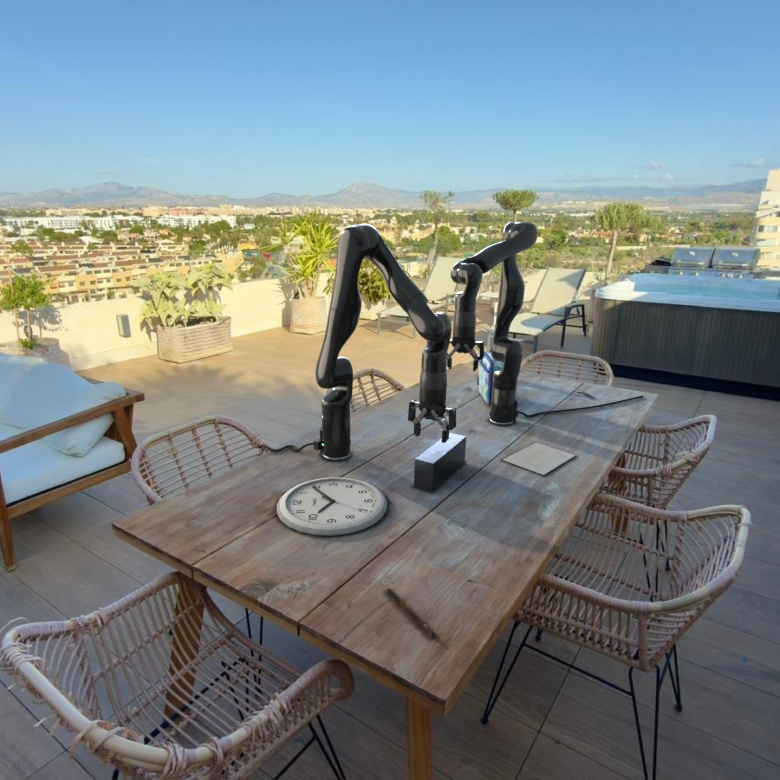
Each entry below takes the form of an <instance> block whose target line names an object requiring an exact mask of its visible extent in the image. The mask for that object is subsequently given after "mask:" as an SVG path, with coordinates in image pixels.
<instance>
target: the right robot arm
mask: <svg viewBox="0 0 780 780" xmlns="http://www.w3.org/2000/svg"><path fill="white" fill-rule="evenodd" d="M538 234H539V233H538V228H537V226H536V225H535V224H534V223H532V222H527V221H526V222H525V221H510V222H508V223H507V224H505V226H504V229H503V232H502V238H501V241H500V242H497V243H494V244H491V245H488V246H487V247H485V248H483V249H482V250H480V251H479V252H478V253H476V254H475V255H472V256H468V257H466V258H464V259H462V260H459V261H457V262H456V263H455V264H454V265H453V267H452V268H451V270H450V279H451V281H452V282H453V283H454V284H457V285H464V286H465V288H464V290H463V291H459V292H457V293H456V294H455V295H454V297H455V298H454V309H453V310H454V312H453V317H452V318H453V319H452V320H453V321H452V337H451V339H450V343H449V345H450V344H451V346H452V348H453V349H451V351H450V352H449V353H448V352H447V367H446V368H448V370H451V369H452V368H453V355H455V353H458V354H466V355H467V354H469V356H470V357H472V359H473V364H472V372H476V371H478V369H479V360H482V359H483V358H484V352H485V341H484V340H481V341H476V326H477V325H476V324H477V316H476V314H477V313H476V309H477V303H476V302H477V297H478V294H479V291H480V287H481V284H482V281H483V275H484V274H486V273H488V272H490V271H491V270H492V269H494V268H495V267H496V266H498V265H500V264H501V271H500V281H499V288H498V297H497V311H496V317H495V323H494V324H495V325H494V330H493V335H492V339H491V345H490V346H491V356H492V358H493V359H494V360H497V361H500V362H503V363H504V367H503V370H497V371H495V372H494V374H493V385H492V398H491V404H490V410H489V415H488V416H489V422H490V423H491V424H494V425H497V426H511V425H513V424H516V423H517V418H518V417H519V415H523V416H524V417H526V418H533V417H535V416H536V417H537V416H539V415H546V414H554V413H564V412H565V413H566V412H573V411H581V410H588V409H595V408H600V407H606V406H607V407H608V406H612V405H617V404H620V403H625V402H628V401H634V400H636V399H638V400H639V399H642V398H644V395H638V396H634V397H629V398H626V399H621V400H617V401H613V402H608V403H603V404H596V405H591V406H581V407H575V408H566V409H558V410H546V411H539V412H535V413H532V414H527V413H525V412H523V411H520V410H518V399H517V388H518V378H519V375H520V372H521V368H522V367H521V366H522V360H523V352H524V349H523V344H522V343H521V342H520V341H518V340H516V339H513V338H512V339H511V338H509V334H510V328H511V325H512V323H513V321H514V319H515V318H516V317H517V315H518V314H519V312H520V311H521V310H522V307H523V305H524V301H525V300H524V299H525V292H526V285H525V281H524V278H523V276H522V273H521V271H520V270H519V265H518V262H517V254H520V253H521V252H524V251H526V250H528V249H531V248H532V247H533V246H534V245H535V244H536V242H537V239H538ZM475 346H476V347H477V348H478V351H479V355H478V354H477V351H476V350H475V349H474V348H475Z"/></svg>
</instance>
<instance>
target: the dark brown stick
mask: <svg viewBox="0 0 780 780" xmlns="http://www.w3.org/2000/svg"><path fill="white" fill-rule="evenodd" d="M386 592H387V593H388V595H390V597H392V598H393V599H394V600H395V601H396V602H397V603H398V604H399V606H401V607H402V609H403V610H404V611H405V612H406V613H407V614H408V615H409V616H410V617H411V619H413V620H414V621H415V622H416V623H417V625H419V626H420V628H422V629H423V631H425V632H426V634H427V635H429V637H430V638H433V637H434V631H433V630H432V629H431V628H430V627H429V626H428V625H427V624H426V623H425V622H424V621H423V620H422V619H421V618H420V617H419V616H418V615H417V614H416V613H415V612H414V611H413V610H412V609H411V608H410V607H409V605H407V604H406V603H405V602H404V600H402V599H401V598H400V596H398V595H397V594H396V592H394V590H392V589H391V588H390V587H388V588H387V591H386Z"/></svg>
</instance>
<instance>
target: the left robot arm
mask: <svg viewBox="0 0 780 780" xmlns="http://www.w3.org/2000/svg"><path fill="white" fill-rule="evenodd" d="M366 259H367V260H368V261H370V262H371V263H372V264H373V265H374V266H375V267H376V269H378V270H379V272H380V274H381V275H382V278H383V280H384V282H385V285H386V288H387V290H388V293H389V294H390V296H391V297H392V299H393V300H394V301H395V302H396V303H397V305H398V306H399V307H400V308H401V309H402V310H403V311H404V312H405V314H406V315H407V316H408V318H409V320H410V322H411V324H412V325H413V327H414V329H415V331H416V332H417V333H418V335H419V336H421V338H423V340H426V345H425V347H424V349H423V350H422V352H421V362H420V364H421V365H420V373H419V391H418V392H419V393H418V395H419V397H418V399H419V401H417V400H416V399H413V400H411V401H409V403H408V410H407V411H408V412H407V421H408V422H412V423H413V435H414V436H415V437H420V436H421V433H422V421H423V419H425V420H431V421H434V422H437V424H438V425H440V428H441V429H442V431H441V439H442V443H445V442H446V441H447V440H448V439H449V433H450V431H453V430H454V429H456V428H457V408H456V407H452V408H451V407H447V405H446V402H447V388H448V387H447V386H448V373H447V368H448V367H447V353H448V351H449V347H450V344H451V343H450V340H451V339H452V333H453V324H452V321H451V318H450V317H449V316H448V314H446V313H444V312H440V311H439V312H438V311H437V312H435V313H434V312H433V311H432V309H431V307H430V306H429V299H428V298H427V296H426V294H425V293H424V292H423V291H422V290H421V289H420V288H419V286H418V285H417V284H416V283H415V282H414V281H413V280H412V279H411V277H410V276H409V275H408V274H407V272H406V271H405V270H404V268H403V267H402V266H401V264H400V263H399V262H398V260H397V258H395V255H394V254H393V252H392V251H391V250H390V248H389V247H388V244H386V242H385V240H384V239H383V237H382V235H381V233H380V232H379V231H378V229H376V227H374V226H373V225H371V224H367V223H362V224H361V223H360V224H355V225H349V226H347V227H346V228H344V229H343V230H342V231H341V233H340V234H339V238H338V242H337V251H336V266H335V273H334V276H335V277H334V281H333V286H332V293H331V298H330V302H329V306H328V307H329V308H328V314H327V320H326V326H325V330H324V334H323V335H324V336H323V340H322V343H321V347H320V350H319V353H318V357H317V362H316V365H315V369H314V370H315V371H314V372H315V373H314V377H315V381H316V384H317V386H318V387H319V388H321V389H323V390H330V389H331V390H330V391H329V392H328V393H326V394H325V395H324V396H323V397H322V398H321V427H319V438H317V439H315V440H313V441H312V442H308V443H305V444H303V445H301V446H300V447H298V448H297V447H296V446H295V445H293V444H287V445H284V446H282V447H280V448H271V447H269V446H268V445H266V444H263V443H262V444H260V445H258V446H257V449H261V448H265V449H266V450H268V451H270V452H273V453H275V452H276V453H278V452H281V451H284V450H286V449H289V448H292V449H293V451H295V452H300V451H302V450H304V449H305V448H306V447H309V446H313V450H314V451H318V452H319V455H320V456H322V457H323V458H324V460H328V461H330V462H331V461H332V462H341V461H345V460H347V459H349V458H351V456H352V452H351V444H352V440H351V402H352V400H353V389H354V387H353V386H354V368H353V365H352V363H351V360H350V359H349V358H348V357H345V356H340V352H341V350H342V349H343V348H344V346H345V345H346V343H347V342H348V341H349V340H350V338H351V337H352V336H353V334H354V332H355V331H356V329H357V328H358V325H359V322H360V317H361V312H362V306H363V303H362V302H363V301H362V296H361V295H362V294H361V292H360V288H359V277H360V276H359V275H360V270H361V267H362V264H363V260H366ZM449 343H450V344H449ZM417 409H418V410H419V411H420V412H419V413H418V415H417V416H416V413H417ZM445 414H446V415H447V416H448V418H447V417H446V415H445Z"/></svg>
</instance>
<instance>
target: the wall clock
mask: <svg viewBox="0 0 780 780" xmlns="http://www.w3.org/2000/svg"><path fill="white" fill-rule="evenodd" d="M387 509H388V500H387V498H386V496H385V494H384V493H383V492H382V491H381V490H380V489H379V488H377V487H376V486H374V485H372V484H371V483H369V482H365V481H362V480H359V479H355V478H349V477H338V476H337V477H335V476H333V477H332V476H331V477H322V478H317V479H312V480H307V481H305V482H302V483H299V484H297V485H295V486H293V487H292V488H290V489H288V490H287V491H286V492H285V493H284V494H283V495H281V496H280V498H279V499H278V502H277V503H276V515H277V517H278V518H279V520H280V521H281V522H282V523H283V524H285V525H286V526H287V527H288V528H290V529H293V530H295V531H297V532H299V533H303V534H308V535H312V536H327V537H328V536H329V537H331V536H332V537H333V536H342V535H350V534H352V533H356V532H361V531H363V530H366V529H368V528H369V527H372V526H373V525H375V524H376V523H378V522H379V521H380V520H381V519H382V518H383V517H384V516H385V514H386V512H387Z"/></svg>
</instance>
